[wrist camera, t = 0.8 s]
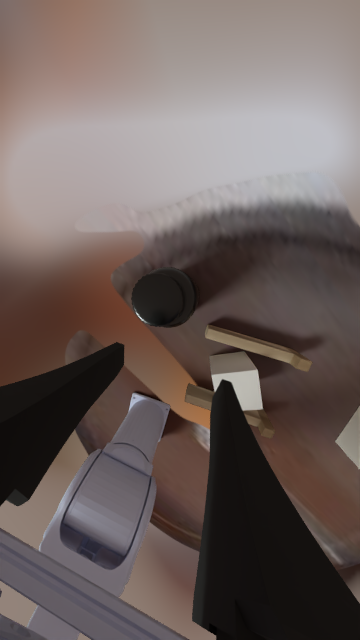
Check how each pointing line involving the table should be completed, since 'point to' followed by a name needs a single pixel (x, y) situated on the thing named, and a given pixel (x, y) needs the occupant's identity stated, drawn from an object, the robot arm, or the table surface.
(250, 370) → the beige cube
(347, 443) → the board
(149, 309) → the supplement bottle
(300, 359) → the chute
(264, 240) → the table surface
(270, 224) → the table surface
